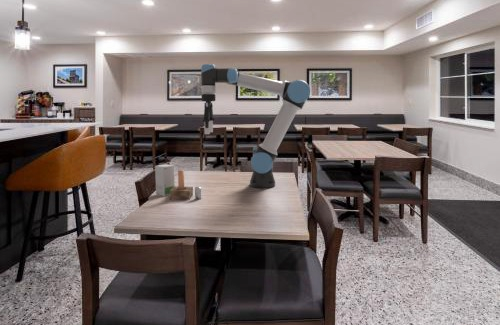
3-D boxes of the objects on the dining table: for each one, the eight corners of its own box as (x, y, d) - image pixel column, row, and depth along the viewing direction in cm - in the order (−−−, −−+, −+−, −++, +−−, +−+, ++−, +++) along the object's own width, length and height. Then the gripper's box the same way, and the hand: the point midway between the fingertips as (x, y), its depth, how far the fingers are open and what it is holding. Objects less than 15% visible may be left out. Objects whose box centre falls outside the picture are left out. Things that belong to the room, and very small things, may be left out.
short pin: (201, 198, 188) (201, 186, 187) (200, 199, 185) (200, 188, 184) (195, 198, 188) (195, 186, 187) (194, 199, 185) (194, 188, 184)
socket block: (193, 194, 194) (192, 186, 193) (189, 199, 184) (189, 191, 184) (174, 194, 194) (174, 186, 194) (169, 199, 185) (169, 190, 184)
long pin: (185, 196, 191) (184, 170, 189) (183, 197, 188) (183, 171, 186) (179, 196, 191) (178, 169, 189) (178, 197, 188) (177, 171, 186)
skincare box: (164, 196, 190) (163, 167, 188) (155, 194, 194) (154, 165, 191) (175, 193, 197) (174, 164, 195) (166, 191, 201) (165, 163, 198)
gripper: (204, 94, 211) (205, 131, 214) (197, 93, 186) (198, 134, 190) (217, 94, 211) (218, 131, 214) (212, 93, 186) (212, 135, 189)
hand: (208, 133), depth 202 cm, fingers open, 13 cm apart
